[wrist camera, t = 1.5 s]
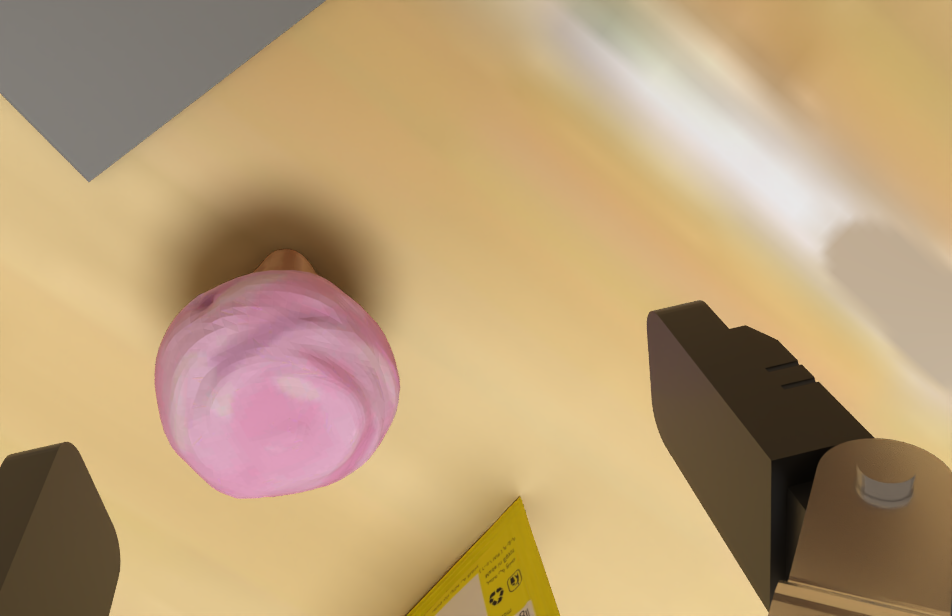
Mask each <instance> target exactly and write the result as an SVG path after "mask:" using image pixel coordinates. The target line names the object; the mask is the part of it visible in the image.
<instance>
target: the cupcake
mask: <svg viewBox="0 0 952 616" xmlns="http://www.w3.org/2000/svg"><path fill="white" fill-rule="evenodd" d="M155 390H156V397H157V403H158V409H159V414H160V418H161V422H162V425H163V429H164V432H165V434H166V436H167V438H168V441H169V443H170V445H171V446H172V448H173V449H174V450H175V452H176V453H177V454H178V455H179V456H180V457H181V458H182V459H183V460H184V461H185V462H186V463H187V464H188V465H189V466H190V467H191V468H192V469H193V470H194V471H195V472H196V473H197V474H198V475H199V476H200V477H201V478H203V479H204V480H205V481H206V482H207V483H208V484H209V485H210V486H211V487H213V488H214V489H216V490H217V491H219V492H221V493H224V494H226V495H229V496H232V497H235V498H261V497H275V496H282V495H288V494H294V493H300V492H304V491H308V490H312V489H315V488H319V487H323V486H327V485H330V484H332V483H334V482H337V481H339V480H341V479H343V478H344V477H346V476H347V475H349V474H351V473H352V472H354V471H355V470H356V469H358V468H359V467H361V466H362V465H363V464H364V463H365V462H366V461H367V460H368V459H369V458H370V457H371V456H372V454H373V453H374V452H375V450H376V449H377V447H378V446H379V445H380V443H381V441H382V440H383V438H384V436H385V434H386V432H387V431H388V429H389V427H390V425H391V423H392V421H393V419H394V416H395V413H396V410H397V405H398V400H399V391H400V381H399V375H398V370H397V366H396V362H395V359H394V356H393V353H392V350H391V348H390V345H389V343H388V341H387V339H386V337H385V335H384V333H383V331H382V330H381V328H380V327H379V325H378V324H377V323H376V322H375V321H374V320H373V318H372V317H371V316H370V315H369V314H368V313H367V312H366V311H365V310H364V309H363V308H362V307H361V306H360V305H359V304H358V303H357V302H356V301H354V300H353V299H352V298H351V297H349V296H348V295H346V294H345V293H344V292H343V291H342V290H341V289H339V288H338V287H337V286H336V285H334V284H333V283H331V282H330V281H328V280H326V279H325V278H323V277H321V276H318V275H317V274H316V272H315V271H314V269H313V267H312V266H311V264H310V263H309V262H308V260H307V259H306V258H305V257H304V256H303V255H302V254H300V253H299V252H297V251H294V250H291V249H281V250H277V251H274V252H272V253H271V254H270V255H268V256H267V257H266V258H265V260H264V261H263V262H262V263H261V264H260V265H259V267H258V268H257V269H256V270H255V271H254V272H252V273H251V274H247V275H244V276H241V277H237V278H235V279H232V280H230V281H228V282H225V283H223V284H220V285H218V286H217V287H215V288H213V289H211V290H209V291H207V292H205V293H203V294H200V295H198V296H197V297H196V298H195V299H193V300H192V301H191V302H190V303H189V304H188V305H186V306H185V307H184V308H183V309H182V310H181V311H180V312H179V314H178V315H177V316H176V317H175V318H174V320H173V321H172V323H171V324H170V326H169V327H168V329H167V331H166V333H165V335H164V337H163V339H162V342H161V344H160V347H159V350H158V354H157V357H156V364H155Z"/></svg>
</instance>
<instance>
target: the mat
mask: <svg viewBox="0 0 952 616" xmlns="http://www.w3.org/2000/svg"><path fill="white" fill-rule="evenodd" d="M324 1H326V0H0V93H1V94H2V95H3V96H4V97H5V98H6V99H7V100H8V101H9V103H10V104H11V105H12V106H13V107H14V108H15V109H16V110H17V111H18V112H19V113H20V114H21V115H22V116H23V117H24V118H25V119H26V120H27V121H28V122H29V123H30V124H31V125H32V126H33V127H34V128H35V129H36V130H37V131H38V132H39V133H40V134H41V135H42V136H43V137H44V138H45V139H46V140H47V141H48V142H49V143H50V144H51V145H52V146H53V147H54V148H55V149H56V150H57V151H58V152H59V153H60V154H61V155H62V156H63V157H64V158H65V159H66V160H67V161H68V162H69V163H70V164H71V165H72V166H73V167H74V168H75V169H76V170H77V171H78V172H79V173H80V174H81V175H82V176H83V177H84V178H85V179H86V180H87V181H88V182H90V181H91V180H92V179H94V178H95V177H96V176H98V175H99V174H100V173H102V172H103V171H104V170H106V169H107V168H108V167H109V166H111V165H112V164H113V163H115V162H116V161H117V160H119V159H120V158H121V157H122V156H124V155H125V154H126V153H128V152H129V151H130V150H132V149H133V148H134V147H135V146H137V145H138V144H139V143H141V142H142V141H143V140H145V139H146V138H147V137H149V136H150V135H151V134H152V133H154V132H155V131H156V130H158V129H159V128H160V127H162V126H163V125H164V124H165V123H167V122H168V121H169V120H171V119H172V118H173V117H175V116H176V115H177V114H178V113H180V112H181V111H182V110H184V109H185V108H186V107H188V106H189V105H190V104H192V103H193V102H194V101H195V100H197V99H198V98H199V97H201V96H202V95H203V94H205V93H206V92H207V91H208V90H210V89H211V88H212V87H214V86H215V85H216V84H218V83H219V82H220V81H221V80H223V79H224V78H225V77H227V76H228V75H229V74H231V73H232V72H233V71H235V70H236V69H237V68H238V67H240V66H241V65H242V64H244V63H245V62H246V61H248V60H249V59H250V58H251V57H253V56H254V55H255V54H257V53H258V52H259V51H261V50H262V49H263V48H264V47H266V46H267V45H268V44H270V43H271V42H272V41H274V40H275V39H276V38H278V37H279V36H280V35H281V34H283V33H284V32H285V31H287V30H288V29H289V28H291V27H292V26H293V25H294V24H296V23H297V22H298V21H300V20H301V19H302V18H304V17H305V16H306V15H307V14H309V13H310V12H311V11H313V10H314V9H315V8H317V7H318V6H319V5H321V4H322V3H323V2H324Z"/></svg>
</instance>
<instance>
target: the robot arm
mask: <svg viewBox="0 0 952 616" xmlns="http://www.w3.org/2000/svg"><path fill="white" fill-rule="evenodd" d="M647 337H648V352H649V366H650V381H651V396H652V406H653V412H654V417H655V421H656V424H657V428H658V430H659V433H660V436H661V438H662V440H663V443H664V444H665V446H666V448H667V449H668V451H669V453H670V454H671V456H672V457H673V459H674V461H675V462H676V464H677V466H678V467H679V469H680V470H681V472H682V474H683V475H684V477H685V478H686V480H687V482H688V483H689V485H690V487H691V488H692V490H693V491H694V493H695V495H696V496H697V498H698V499H699V501H700V503H701V504H702V506H703V507H704V509H705V511H706V512H707V514H708V516H709V517H710V519H711V520H712V522H713V524H714V525H715V527H716V528H717V530H718V532H719V533H720V535H721V536H722V538H723V540H724V541H725V543H726V545H727V546H728V548H729V549H730V551H731V553H732V554H733V556H734V557H735V559H736V561H737V562H738V564H739V565H740V567H741V569H742V570H743V572H744V574H745V575H746V577H747V578H748V580H749V582H750V583H751V585H752V586H753V588H754V590H755V591H756V593H757V595H758V596H759V598H760V599H761V601H762V603H763V604H764V606H765V607H766V609H767V611H768V612H769V614H768V616H952V472H951V470H950V469H949V467H948V466H947V465H946V464H945V463H944V462H943V461H941V460H940V459H939V458H937V457H936V456H935V455H933V454H931V453H929V452H928V451H926V450H924V449H921V448H919V447H917V446H914V445H911V444H908V443H905V442H900V441H896V440H890V439H881V438H874V437H873V436H872V435H871V434H870V433H869V432H868V431H867V430H866V429H865V428H864V427H863V426H862V425H861V424H860V423H859V422H858V421H857V420H856V419H855V418H854V417H853V416H852V415H851V414H850V413H849V412H848V411H847V410H846V409H845V408H844V407H843V406H842V405H841V404H840V403H839V402H838V401H837V400H836V399H835V398H834V397H833V396H832V395H831V394H830V393H829V392H828V391H827V390H826V389H825V388H824V387H823V386H822V385H821V384H820V383H819V382H815V378H814V376H813V375H812V374H811V373H810V372H809V371H808V370H807V369H806V368H805V367H804V366H803V365H799V364H798V360H797V359H796V358H795V357H794V356H793V355H792V354H791V353H790V352H789V351H788V350H787V349H786V348H785V347H784V346H783V345H782V344H781V343H780V342H779V341H778V340H776V339H774V338H772V337H770V336H768V335H766V334H763V333H761V332H759V331H757V330H755V329H753V328H750V327H748V326H746V325H745V326H741V327H736V328H732V329H729V328H728V327H727V326H726V325H725V324H724V323H723V322H722V321H721V319H720V318H719V317H718V316H717V315H716V314H715V313H714V312H713V311H712V310H711V308H710V307H709V306H708V305H707V304H706V303H705V302H703V301H701V300H699V301H694V302H690V303H685V304H681V305H676V306H672V307H668V308H663V309H659V310H654V311H651V312H649V314H648V317H647ZM119 572H120V549H119V543H118V538H117V535H116V531H115V529H114V526H113V524H112V522H111V520H110V517H109V515H108V513H107V511H106V509H105V507H104V504H103V502H102V500H101V498H100V496H99V494H98V491H97V489H96V487H95V485H94V483H93V481H92V479H91V476H90V474H89V472H88V470H87V468H86V466H85V463H84V461H83V459H82V457H81V455H80V453H79V451H78V450H77V448H76V447H75V446H74V445H73V444H71V443H69V442H63V443H59V444H54V445H50V446H45V447H41V448H37V449H32V450H28V451H23V452H19V453H14V454H10V455H8V456H7V457H6V458H5V460H4V461H3V463H2V465H1V467H0V616H109V613H110V609H111V605H112V601H113V597H114V593H115V589H116V585H117V581H118V577H119Z"/></svg>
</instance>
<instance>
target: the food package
mask: <svg viewBox="0 0 952 616" xmlns="http://www.w3.org/2000/svg"><path fill="white" fill-rule="evenodd" d="M406 616H560V614H559V611H558V608H557V605H556V602H555V599H554V596H553V593H552V590H551V587H550V584H549V581H548V578H547V575H546V572H545V569H544V566H543V563H542V560H541V557H540V554H539V551H538V549H537V546H536V543H535V540H534V537H533V534H532V531H531V528H530V525H529V522H528V518H527V515H526V511H525V509H524V505H523V503H522V500H521V497H519V498H518V499H517V500H516V501H515V502H514V503H513V504H512V505H511V506H510V507H509V508H508V509H507V510H506V512H504V513H503V514H502V515H501V516H500V518H499V519H498V520H497V521H496V522H495V523H494V524H493V526H492V527H491V528H490V529H489V530H488V531H487V532H486V533H485V534H484V535H483V536H482V537H481V538H480V539H479V540H478V541H477V542H476V543H475V544H474V545H473V546H472V547H471V549H470V550H469V551H468V552H467V553H466V554H465V555H464V556H463V557H462V558H461V559H460V560H459V561H458V562H457V563H456V564H455V565H454V566H453V567H452V568H451V569H450V570H449V571H448V573H447V574H446V575H445V576H444V577H443V578H442V579H441V580H440V581H439V582H438V583H437V584H436V585H435V586H434V587H433V588H432V589H431V590H430V591H429V592H428V593H427V595H426V596H425V597H424V598H423V599H422V600H421V601H420V602H419V603H418V604H417V605H416V606H415V607H414V608H413V609H412V610H411V611H410V612H409V613H408V614H407V615H406Z"/></svg>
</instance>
